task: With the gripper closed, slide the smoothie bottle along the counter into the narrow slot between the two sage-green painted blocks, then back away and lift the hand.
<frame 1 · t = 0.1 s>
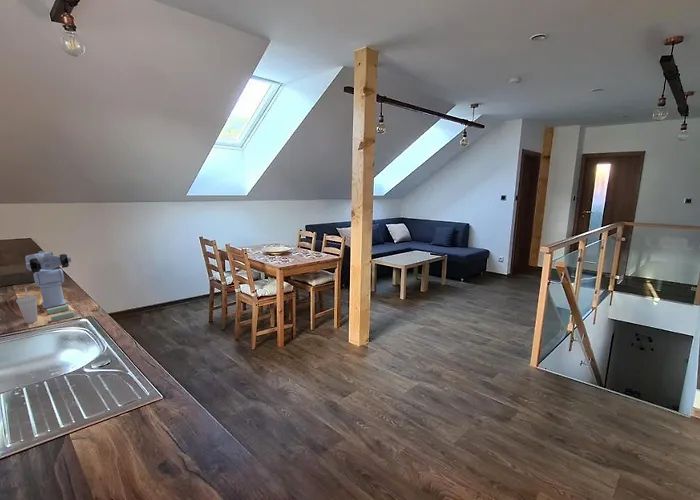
hand: (52, 264, 148), 22 cm above the counter, tool horizontal, fingers open, 7 cm apart
smoothie: (31, 321, 147), on the counter
slot: (60, 314, 153), on the counter
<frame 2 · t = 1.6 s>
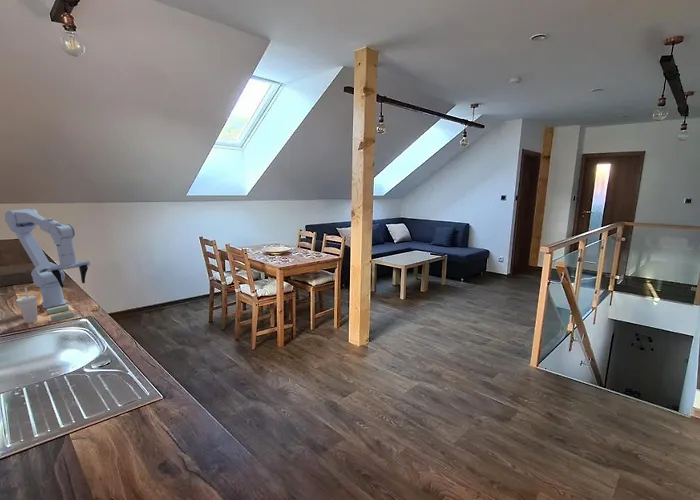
hand: (73, 284, 159), 10 cm above the counter, tool pointing down, fingers open, 7 cm apart
nothing on the counter moved.
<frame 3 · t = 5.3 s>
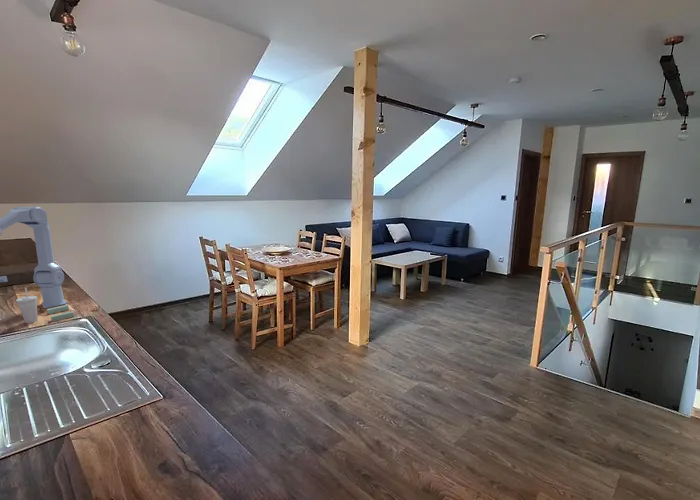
nothing on the counter moved.
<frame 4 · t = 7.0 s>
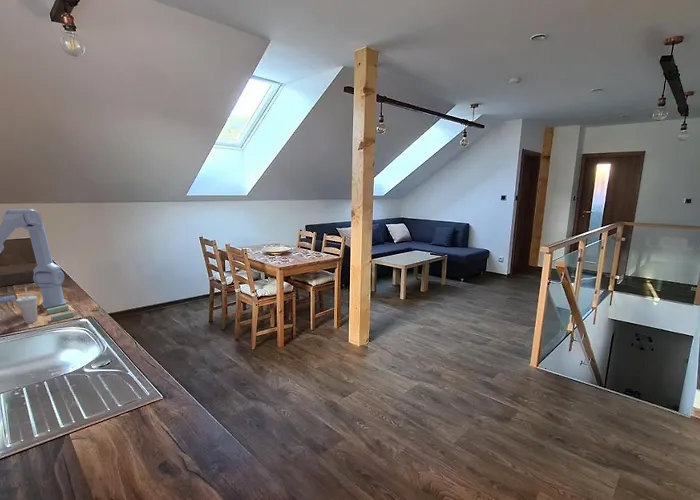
nothing on the counter moved.
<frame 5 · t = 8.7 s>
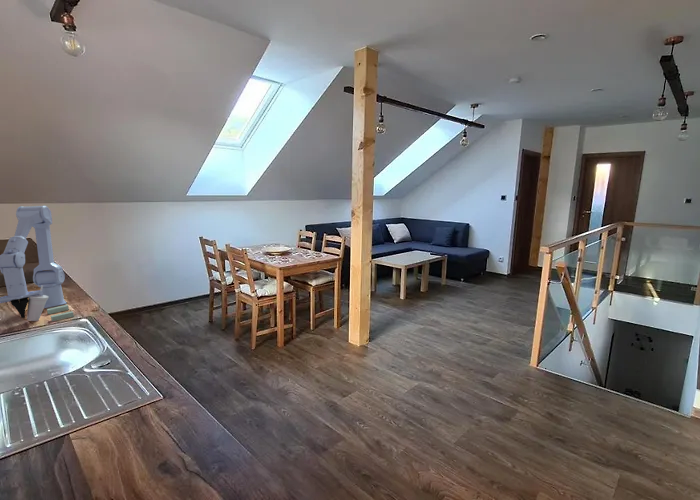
hand: (23, 317, 145), 2 cm above the counter, tool pointing down, fingers closed
smoothie: (32, 320, 147), on the counter, touching gripper
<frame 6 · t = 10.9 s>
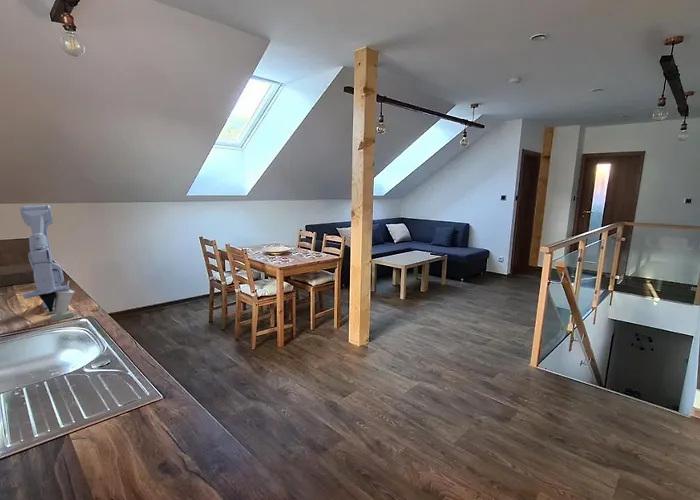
hand: (50, 311, 151), 2 cm above the counter, tool pointing down, fingers closed
smoothie: (59, 314, 153), on the counter, touching gripper
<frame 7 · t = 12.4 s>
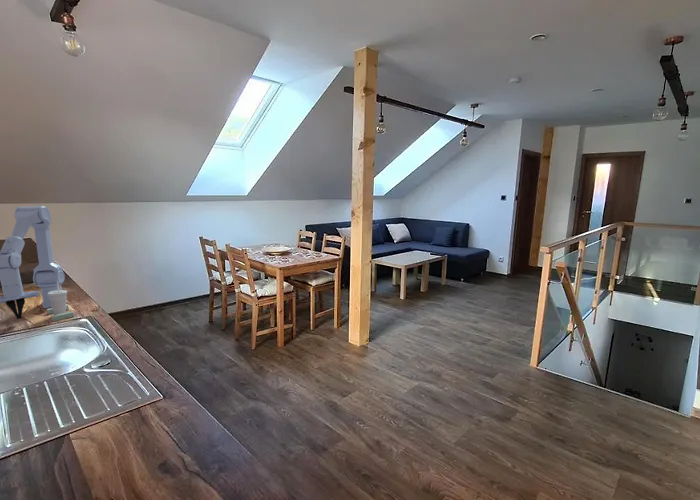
hand: (19, 318, 144), 2 cm above the counter, tool pointing down, fingers closed
smoothie: (59, 315, 153), on the counter
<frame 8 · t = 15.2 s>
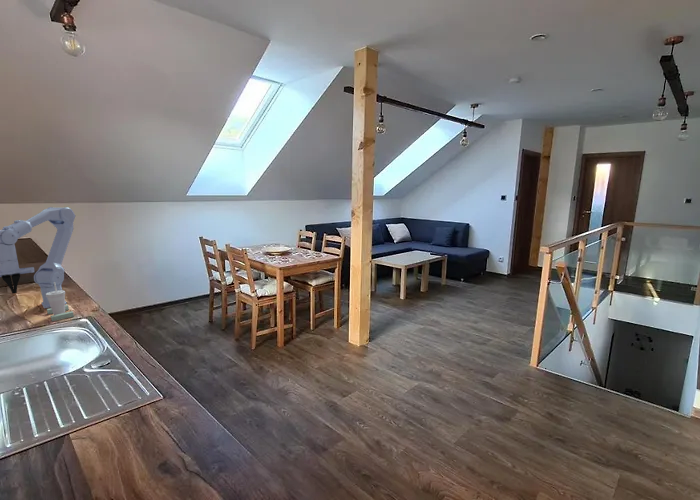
hand: (14, 292, 149), 10 cm above the counter, tool pointing down, fingers closed
at the end: smoothie 0.3 cm off-centre on the slot, point 0.0 cm above the slot's base; smoothie tilted 1°; smoothie moved 9.0 cm from its start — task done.
